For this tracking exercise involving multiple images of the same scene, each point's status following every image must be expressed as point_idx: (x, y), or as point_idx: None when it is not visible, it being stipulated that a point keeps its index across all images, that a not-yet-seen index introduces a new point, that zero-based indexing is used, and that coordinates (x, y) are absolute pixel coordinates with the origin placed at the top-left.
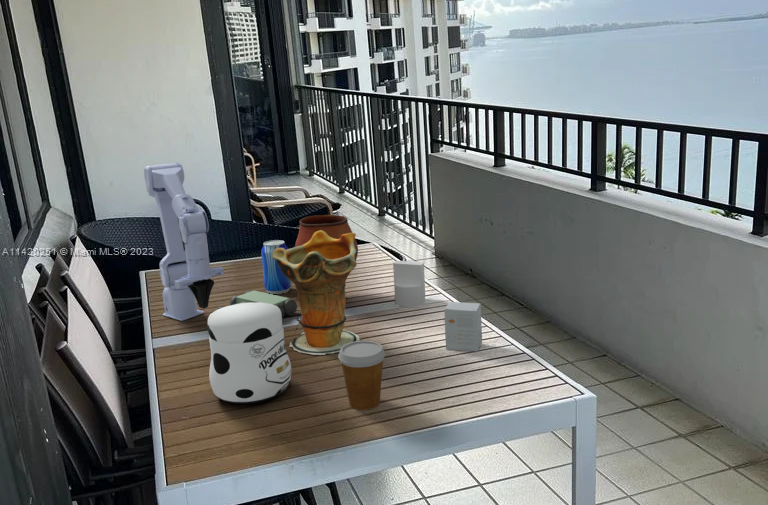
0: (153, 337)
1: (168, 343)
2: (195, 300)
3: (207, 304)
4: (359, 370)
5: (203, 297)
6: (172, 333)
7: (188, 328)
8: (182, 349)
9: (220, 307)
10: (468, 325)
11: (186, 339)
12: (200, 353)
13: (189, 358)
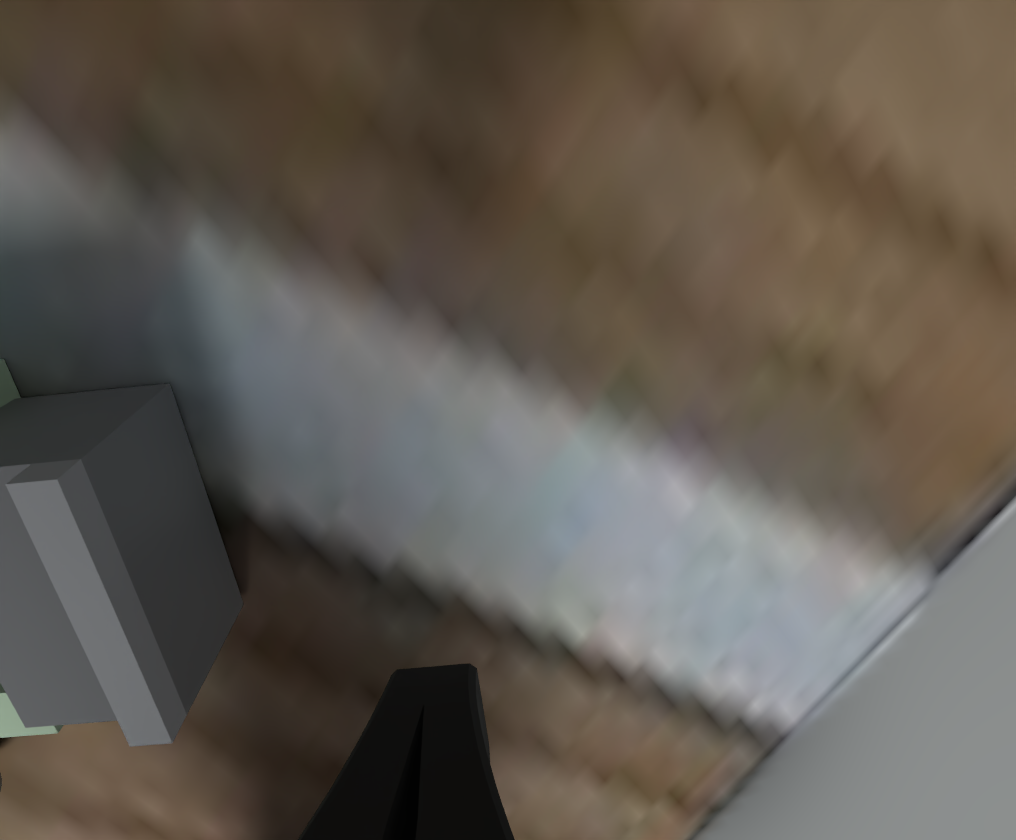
0: (767, 748)
1: (800, 569)
2: None
3: (397, 699)
4: None
5: (472, 829)
6: (630, 714)
7: (483, 710)
8: (846, 346)
9: (140, 721)
10: None
11: (651, 528)
12: (841, 68)
13: (1011, 38)
